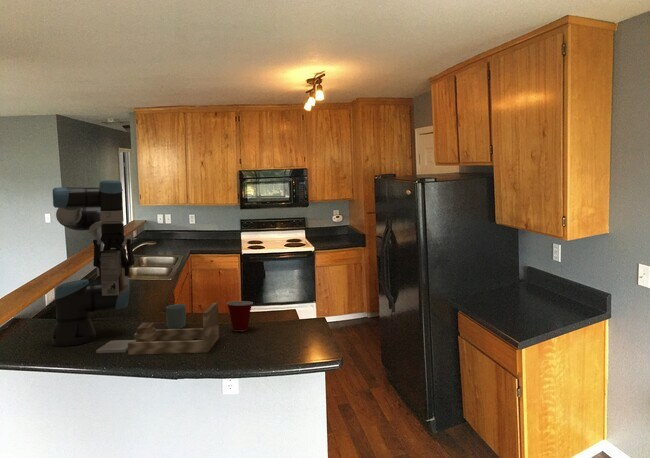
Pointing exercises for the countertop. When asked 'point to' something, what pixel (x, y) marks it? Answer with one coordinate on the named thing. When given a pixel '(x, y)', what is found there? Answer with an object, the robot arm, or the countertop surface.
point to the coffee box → (112, 272)
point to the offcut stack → (146, 333)
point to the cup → (176, 316)
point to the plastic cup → (239, 314)
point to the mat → (115, 346)
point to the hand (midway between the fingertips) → (115, 285)
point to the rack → (182, 337)
